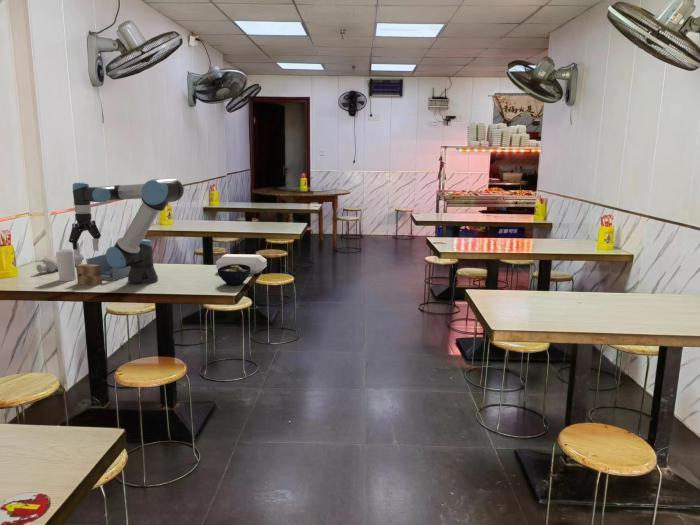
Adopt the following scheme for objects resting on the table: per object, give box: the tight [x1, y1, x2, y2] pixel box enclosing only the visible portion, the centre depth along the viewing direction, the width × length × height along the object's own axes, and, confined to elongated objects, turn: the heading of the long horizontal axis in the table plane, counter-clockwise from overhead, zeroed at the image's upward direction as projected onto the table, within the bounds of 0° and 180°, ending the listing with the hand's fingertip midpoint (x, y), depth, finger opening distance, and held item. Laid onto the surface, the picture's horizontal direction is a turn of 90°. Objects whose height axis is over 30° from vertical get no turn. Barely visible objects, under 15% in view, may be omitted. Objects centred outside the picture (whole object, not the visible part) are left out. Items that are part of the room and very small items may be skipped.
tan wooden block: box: [75, 263, 103, 286], centre depth 285 cm, size 12×5×10 cm, turn 74°
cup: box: [55, 248, 77, 282], centre depth 294 cm, size 8×8×16 cm
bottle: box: [35, 250, 85, 273], centre depth 320 cm, size 9×9×30 cm
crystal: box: [215, 253, 268, 274], centre depth 315 cm, size 14×10×28 cm
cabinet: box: [85, 253, 130, 281], centre depth 302 cm, size 17×20×11 cm
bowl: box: [217, 264, 251, 287], centre depth 286 cm, size 17×17×10 cm
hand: (86, 253), depth 284 cm, fingers open, 13 cm apart
